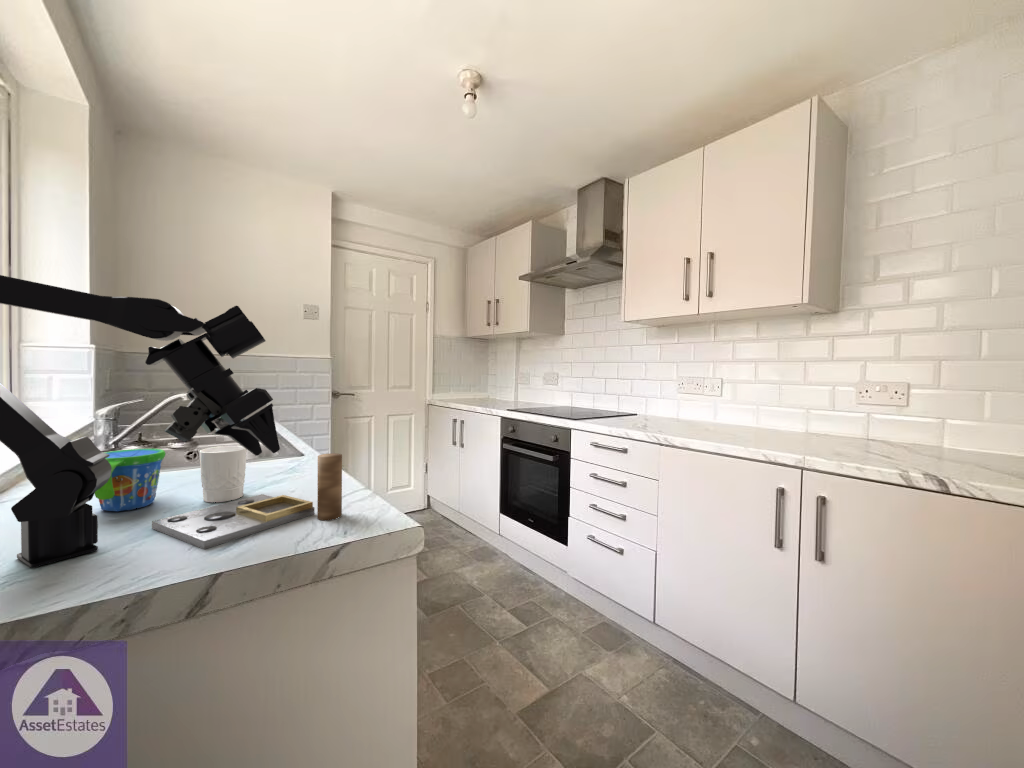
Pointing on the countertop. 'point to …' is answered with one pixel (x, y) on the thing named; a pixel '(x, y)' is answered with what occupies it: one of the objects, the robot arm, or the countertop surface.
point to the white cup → (222, 473)
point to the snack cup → (131, 479)
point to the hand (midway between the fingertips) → (267, 452)
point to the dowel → (329, 486)
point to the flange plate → (233, 519)
